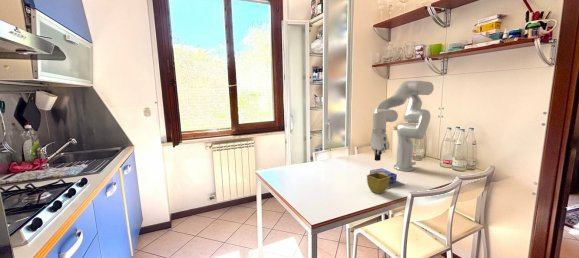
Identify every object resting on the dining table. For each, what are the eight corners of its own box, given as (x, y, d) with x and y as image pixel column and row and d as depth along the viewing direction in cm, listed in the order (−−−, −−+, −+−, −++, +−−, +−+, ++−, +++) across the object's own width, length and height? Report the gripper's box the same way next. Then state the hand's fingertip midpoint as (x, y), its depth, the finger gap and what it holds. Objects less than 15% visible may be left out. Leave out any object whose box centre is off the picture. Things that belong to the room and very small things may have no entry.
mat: (385, 176, 159) (385, 175, 159) (404, 184, 145) (404, 184, 145) (367, 179, 153) (367, 179, 153) (386, 189, 140) (386, 188, 140)
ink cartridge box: (382, 167, 157) (400, 175, 144) (381, 175, 159) (399, 184, 145) (369, 169, 154) (387, 178, 141) (369, 178, 155) (386, 187, 142)
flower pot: (376, 187, 143) (377, 171, 141) (389, 192, 135) (390, 176, 134) (365, 190, 138) (366, 175, 136) (378, 196, 131) (379, 180, 129)
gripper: (393, 132, 146) (391, 162, 149) (375, 128, 159) (373, 156, 162) (383, 133, 143) (381, 164, 146) (365, 129, 156) (364, 157, 159)
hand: (377, 160), depth 154 cm, fingers closed
